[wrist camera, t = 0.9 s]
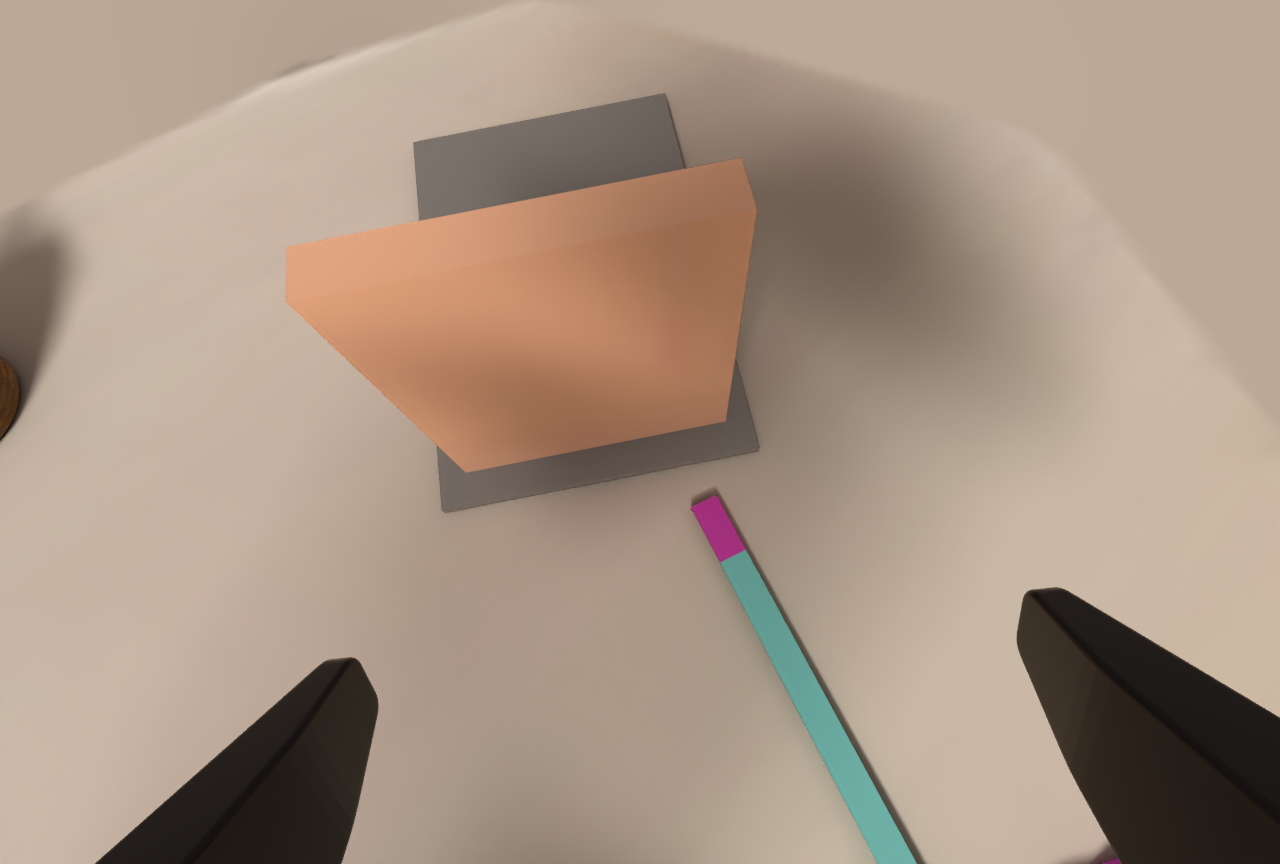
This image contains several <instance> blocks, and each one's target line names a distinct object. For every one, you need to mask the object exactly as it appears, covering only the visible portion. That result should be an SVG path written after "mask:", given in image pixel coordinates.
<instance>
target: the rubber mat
mask: <svg viewBox="0 0 1280 864" xmlns="http://www.w3.org/2000/svg"><path fill="white" fill-rule="evenodd" d="M413 145H414V158H415V171H416V184H417V196H418V209H419V221H422V220H427V219H432V218H437V217H442V216H447V215H452V214H457V213H462V212H467V211H473V210H478V209H483V208H488V207H493V206H498V205H503V204H508V203H513V202H518V201H524V200H529V199H534V198H539V197H544V196H549V195H554V194H559V193H564V192H569V191H575V190H580V189H585V188H590V187H595V186H600V185H605V184H610V183H615V182H620V181H625V180H631V179H636V178H641V177H646V176H651V175H656V174H661V173H666V172H671V171H676V170H682V169H685V168H684V165H683V161H682V157H681V153H680V150H679V146H678V142H677V138H676V135H675V131H674V127H673V124H672V120H671V116H670V112H669V109H668V105H667V101H666V97H665V94H659V95H654V96H649V97H643V98H638V99H633V100H628V101H623V102H618V103H613V104H608V105H603V106H597V107H592V108H587V109H582V110H577V111H572V112H567V113H562V114H557V115H551V116H546V117H541V118H536V119H531V120H526V121H521V122H516V123H511V124H506V125H500V126H495V127H490V128H485V129H480V130H475V131H470V132H465V133H460V134H454V135H449V136H444V137H439V138H434V139H429V140H424V141H419V142H414V143H413ZM758 450H759V445H758V441H757V437H756V433H755V430H754V426H753V422H752V418H751V415H750V411H749V407H748V404H747V400H746V396H745V392H744V389H743V385H742V381H741V377H740V374H739V370H738V366H737V362H736V359H735V362H734V369H733V375H732V382H731V389H730V395H729V402H728V409H727V416H726V421H725V422H720V423H715V424H710V425H705V426H700V427H695V428H690V429H685V430H680V431H675V432H670V433H665V434H660V435H654V436H649V437H644V438H639V439H634V440H629V441H624V442H619V443H614V444H609V445H604V446H599V447H594V448H589V449H584V450H579V451H574V452H568V453H563V454H558V455H553V456H548V457H543V458H538V459H533V460H528V461H523V462H518V463H513V464H508V465H503V466H498V467H493V468H488V469H483V470H477V471H472V472H467V473H466V472H465V471H464V470H463V469H461V468H460V467H459V466H458V465H457V464H456V463H455V462H454V461H453V460H452V459H451V458H450V457H449V456H448V455H447V454H446V453H445V452H444V451H442V450H441V449H440V448H439V447H438V446H437V454H438V467H439V480H440V493H441V506H442V511H444V512H445V513H447V512H452V511H457V510H463V509H468V508H473V507H478V506H483V505H488V504H493V503H498V502H503V501H508V500H513V499H518V498H523V497H528V496H533V495H538V494H543V493H548V492H553V491H558V490H564V489H569V488H574V487H579V486H584V485H589V484H594V483H599V482H604V481H609V480H614V479H619V478H624V477H629V476H634V475H639V474H644V473H649V472H654V471H660V470H665V469H670V468H675V467H680V466H685V465H690V464H695V463H700V462H705V461H710V460H715V459H720V458H725V457H730V456H735V455H740V454H745V453H750V452H755V451H758Z"/></svg>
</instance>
